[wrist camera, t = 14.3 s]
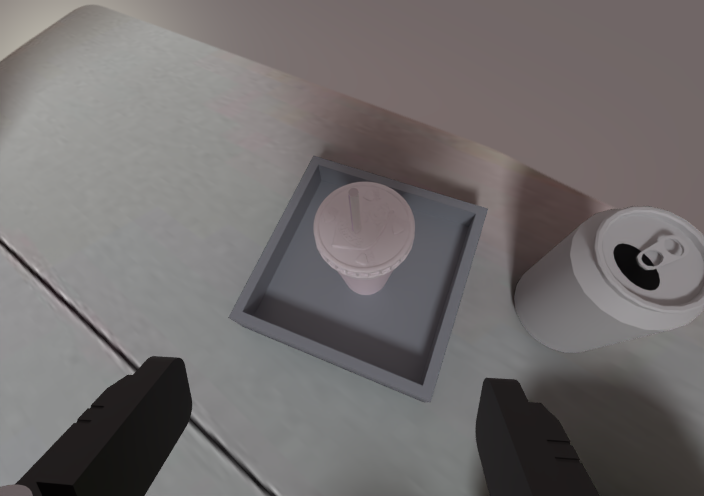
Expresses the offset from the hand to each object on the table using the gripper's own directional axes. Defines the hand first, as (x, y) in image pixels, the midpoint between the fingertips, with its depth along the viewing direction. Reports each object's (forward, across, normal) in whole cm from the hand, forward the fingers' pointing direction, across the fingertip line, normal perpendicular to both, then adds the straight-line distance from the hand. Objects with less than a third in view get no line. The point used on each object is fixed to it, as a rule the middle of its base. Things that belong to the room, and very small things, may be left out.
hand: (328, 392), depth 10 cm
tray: (+22, 0, +7) cm, 23 cm away
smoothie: (+21, 0, +7) cm, 22 cm away
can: (+20, -16, +9) cm, 28 cm away
